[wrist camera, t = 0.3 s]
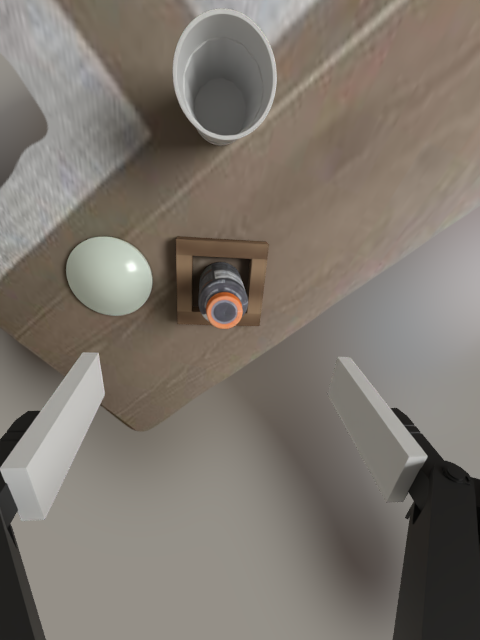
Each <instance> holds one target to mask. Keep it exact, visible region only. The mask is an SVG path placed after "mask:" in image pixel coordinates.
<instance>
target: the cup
mask: <svg viewBox="0 0 480 640" xmlns="http://www.w3.org/2000/svg"><path fill="white" fill-rule="evenodd" d="M276 79H277V76H276V64H275V59H274V55H273V52H272V49H271V46H270V44H269V42H268V40H267V38H266V36H265V35H264V33H263V32H262V30H261V29H260V28H259V26H258V25H257V24H256V23H255V22H254V21H253V20H251V19H250V18H249V17H247V16H246V15H244V14H242V13H240V12H238V11H235V10H232V9H225V8H219V9H213V10H209V11H206V12H204V13H202V14H200V15H199V16H197V17H196V18H195V19H194V20H193V21H192V22H191V23H190V24H189V25H188V26H187V27H186V29H185V30H184V31H183V33H182V35H181V37H180V39H179V41H178V44H177V46H176V50H175V54H174V59H173V83H174V89H175V93H176V96H177V99H178V102H179V104H180V107H181V109H182V110H183V112H184V114H185V115H186V117H187V118H188V120H189V121H190V122H191V123H192V124H193V125H194V126H195V127H196V129H197V131H198V132H199V134H200V135H201V136H202V137H203V138H204V139H205V140H206V141H208V142H209V143H211V144H214V145H219V146H223V145H228V144H231V143H233V142H234V141H235V140H237V139H239V138H242V137H244V136H246V135H248V134H250V133H251V132H253V131H254V130H255V129H256V128H257V127H258V126H259V125H260V124H261V123H262V122H263V120H264V119H265V117H266V116H267V114H268V112H269V110H270V108H271V105H272V103H273V99H274V96H275V90H276Z"/></svg>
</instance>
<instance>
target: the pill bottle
mask: <svg viewBox="0 0 480 640" xmlns="http://www.w3.org/2000/svg"><path fill="white" fill-rule="evenodd" d="M198 305H199V310H200V312H201V314H202V315H203V317H204V318H205V319H206V320H207V321H209V322H210V323H211V324H212V325H213V326H215V327H217V328H221V329H228V328H231V327H234V326H235V325H236V324H238V323H239V321H240V320H241V318H242V317H243V316H244V314H245V312H246V310H247V307H248V297H247V293H246V291H245V288H244V285H243V282H242V280H241V277H240V274H239V272H238V271H237V269H236V268H235V267H233V266H232V265H230V264H228V263H224V262H217V263H213V264H211V265H209V266H208V267H206V268H205V269H204V271H203V272H202V274H201V277H200V282H199V299H198Z"/></svg>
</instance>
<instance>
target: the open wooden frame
mask: <svg viewBox="0 0 480 640" xmlns="http://www.w3.org/2000/svg"><path fill="white" fill-rule="evenodd" d="M268 248H269V244H268V243H267V242H262V241H245V240H229V239H212V238H196V237H180V236H177V238H176V268H177V322H178V324H197V325H212V324H211V323H210V322H209V321H207V320H206V319H205V318H204V317H203V315H202V314H201V312H200V310H199V307H198V306H192V280H193V256H208V257H227V258H246V259H250V266H249V277H248V288H247V297H248V307H247V310H246V312H245V314H244V316H243V317H242V318H241V320H240V321H239V323H238V324H236V325H238V326H259V325H260V316H261V308H262V299H263V290H264V282H265V273H266V265H267V256H268Z"/></svg>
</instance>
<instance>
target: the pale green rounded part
mask: <svg viewBox="0 0 480 640" xmlns="http://www.w3.org/2000/svg"><path fill="white" fill-rule="evenodd" d="M66 275H67V280H68V283H69V286H70V288H71V290H72V291H73V293H74V294H75V296H76V297H77V298H78V299H79V300H80V301H81V302H82V303H83V304H84V305H86V306H87V307H88V308H90V309H92V310H94V311H96V312H99V313H102V314H106V315H113V316H119V315H125V314H129V313H132V312H134V311H136V310H137V309H139V308H140V307H141V306H142V305H143V304H144V303H145V302H146V300H147V299H148V297H149V295H150V293H151V290H152V285H153V276H152V271H151V268H150V265H149V263H148V261H147V260H146V258H145V257H144V255H143V254H142V253H141V252H140V251H139V250H138V249H137V248H136V247H135V246H133V245H132V244H130V243H128V242H126V241H125V240H122V239H119V238H116V237H111V236H98V237H93V238H90V239H88V240H86V241H83V242H82V243H80V244H79V245H78V246H76V247H75V248H74V250H73V251H72V252H71V254H70V256H69V258H68V261H67V265H66Z"/></svg>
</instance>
